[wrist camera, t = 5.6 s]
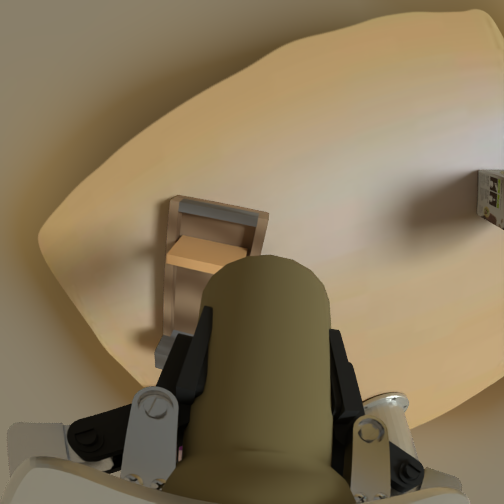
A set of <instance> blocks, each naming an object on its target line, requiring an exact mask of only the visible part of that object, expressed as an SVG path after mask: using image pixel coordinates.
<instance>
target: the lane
mask: <svg viewBox="0 0 504 504" xmlns="http://www.w3.org/2000/svg"><path fill="white" fill-rule="evenodd" d="M268 220H269V213H267V212H263V211H258V210H253V209H248V208H244V207H239V206H234V205H229V204H224V203H219V202H214V201H208V200H203V199H198V198H192V197H187V196H181V195H177V196H176V197H174V198H173V199H171V200H170V206H169V216H168V227H167V239H166V254H165V272H164V300H163V336H162V338H161V340H160V342H159V344H158V346H157V348H156V350H155V367H156V368H159V369H162V370H163V367H164V365H165V362H166V360H167V358H168V355H169V353H170V350H171V348H172V346H173V343H174V341H175V338H176V336H177V334H178V333H180V334H184V335H188V336H194V333H195V330H196V327H197V323H198V317H199V310H200V304H201V298H202V292H203V290H204V288H205V287H206V285H207V283H208V282H209V280H210V278H211V276H213V275H214V274H211V273H206V272H202V271H197V270H193V269H189V268H184V267H180V266H176V265H171V264H167V263H166V259H167V253H168V252H169V251H170V249H171V248H172V247H173V246H174V245H175V243H176V242H177V241H178V240H179V239H180V238H181V236H182V235H185V236H190V237H194V238H199V239H204V240H209V241H213V242H218V243H223V244H228V245H232V246H237V247H242V248H247V249H248V250H247V254H246V257H247V256H260V255H261V250H262V246H263V242H264V237H265V233H266V229H267V224H268Z"/></svg>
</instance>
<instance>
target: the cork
mask: <svg viewBox="0 0 504 504" xmlns="http://www.w3.org/2000/svg"><path fill="white" fill-rule="evenodd" d="M204 306H210V307H212V308H213V324H212V331H211V335H210V339H209V344H208V371H207V378H206V382H205V386H204V391H203V393H202V394H201V395H200V396H198V397H196V398H195V399H194V403H193V404H192V405H191V411H190V422H189V423H188V425H187V426H186V428H185V429H184V435H183V446H182V457H181V460H180V461H179V462H178V463H176V468H175V469H174V470H173V472H172V473H171V475H170V476H169V477H168V479H167V480H166V483H165V484H163V485H160V486H159V489H160V488H161V489H162V490H161V491H162V492H166V493H170V494H174V495H178V496H182V497H186V498H191V499H196V500H201V501H206V502H212V503H218V504H356V501H355V498H354V496H353V494H352V492H351V490H350V487H349V485H348V483H347V482H346V480H345V479H344V478H343V477H342V476H340V475H339V474H338V473H337V472H336V471H335V470H334V469H333V468H332V467H331V460H332V439H333V416H332V401H331V380H330V340H329V329H331V317H330V303H329V299H328V296H327V293H326V290H325V287H324V285H323V284H322V282H321V281H320V280H319V279H318V278H317V276H316V275H315V274H314V273H313V272H312V271H311V270H310V269H308V268H306V267H304V266H303V265H301V264H299V263H298V262H296V261H294V260H291V259H287V258H283V257H278V256H274V255H260V256H247V257H244V258H242V259H239V260H236V261H234V262H231V263H228V264H226V265H225V266H224V267H223V268H221V269H220V270H219V271H218V272H216V273H215V274H214V275H213V276H211V278H210V280H209V282H208V283H207V285H206V287H205V288H204V290H203V292H202V298H201V304H200V310H199V317H198V321H199V319H200V316H201V313H202V310H203V308H204ZM197 324H198V323H197ZM163 486H164V487H163Z"/></svg>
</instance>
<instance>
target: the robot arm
mask: <svg viewBox="0 0 504 504" xmlns="http://www.w3.org/2000/svg"><path fill="white" fill-rule="evenodd" d="M212 324H213V308H212V307H210V306H204V308H203V310H202V313H201V316H200V319H199V321H198V324H197V327H196V330H195V333H194V336H188V335H184V334H180V333H178V334H177V336H176V338H175V341H174V343H173V346H172V348H171V350H170V353H169V355H168V358H167V360H166V362H165V365H164V367H163V370H162V372H161V375H160V377H159V380H158V382H157V385H156V387H153V386H151V387H146V388H143V389H142V390H140V391H138V392H137V393H136V394H135V396H134V398H133V401H132V404H129V405H126V406H123V407H119V408H116V409H113V410H110V411H107V412H103V413H100V414H97V415H94V416H90V417H86V418H83V419H79V420H77V421H75V422H74V423H72V424H71V425H63V424H62V423H23V422H19V423H14V424H13V425H11V426H10V427H9V429H8V432H7V447H8V460H9V470H10V480H9V482H8V484H7V485H6V488H5V490H4V492H3V495H2V497H1V500H0V504H218V503H212V502H206V501H201V500H196V499H191V498H186V497H182V496H178V495H174V494H170V493H166V492H162V491H161V490H162V489H161V488H160V489H159V486H160V485H163V484H165V483H166V480H167V479H168V477H169V476H170V475H171V473H172V472H173V470H174V469H175V468H176V463H178V462H179V447H181V446H183V435H184V429H185V428H186V426H187V425H188V423H189V422H190V411H191V405H192V404H193V403H194V399H195V398H196V397H198V396H200V395H201V394H202V393H203V391H204V386H205V382H206V378H207V371H208V344H209V339H210V335H211V331H212ZM329 340H330V380H331V401H332V416H333V439H332V460H331V467H332V468H333V469H334V470H335V471H336V472H337V473H338V474H339V475H340V476H342V477H343V478H344V479H345V480H346V482H347V483H348V485H349V487H350V490H351V492H352V494H353V496H354V498H355V501H356V504H471V503H470V500H469V499H468V497H467V495H466V494H465V493H464V492H462V484H461V481H460V480H459V479H458V478H457V477H455V476H452V475H449V474H445V473H443V472H439V471H436V470H434V469H431V468H428V467H426V468H425V469H424V468H423V466H422V464H421V463H420V462H419V460H418V456H417V453H416V449H415V446H414V442H413V439H412V436H411V432H410V429H409V426H408V423H407V420H406V417H405V413H404V412H405V411H406V410H407V408H408V406H409V401H408V398H407V396H406V395H404V394H402V393H387V394H383V395H379V396H376V397H374V398H371V399H369V400H367V401H365V402H363V403H362V399H361V395H360V391H359V387H358V383H357V379H356V376H355V372H354V368H353V365H352V364H351V363H350V362H348V359H347V355H346V351H345V348H344V344H343V341H342V337H341V333H340V331H339V330H335V329H329ZM120 470H121V475H120V478H119V477H116V476H113V475H110V473H114V472H117V471H120ZM163 487H164V486H163Z"/></svg>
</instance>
